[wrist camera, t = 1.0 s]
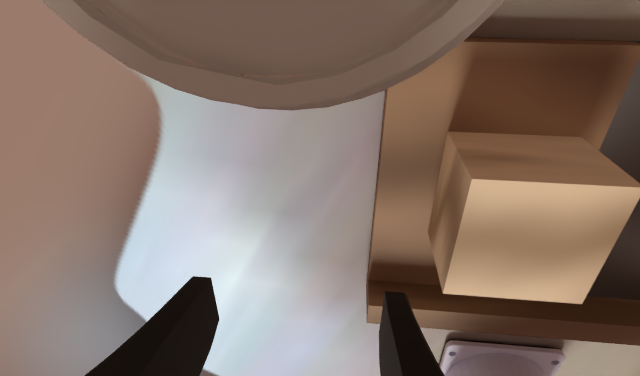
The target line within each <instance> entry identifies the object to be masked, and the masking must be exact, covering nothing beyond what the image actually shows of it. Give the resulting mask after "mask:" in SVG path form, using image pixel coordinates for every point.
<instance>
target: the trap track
mask: <svg viewBox="0 0 640 376" xmlns="http://www.w3.org/2000/svg"><path fill="white" fill-rule="evenodd" d="M448 131H449V132H472V133H496V134H520V135H544V136H568V137H582V138H583V139H584V140H586V141H587V142H588V143H590V144H591V145H592V146H593V147H595V148H596V149H597V150H598V151H600V152H601V153H602V154H603V155H605V156H606V157H607V158H608V159H610V160H611V161H612V162H613V163H615V164H616V165H617V166H618V167H620V168H621V169H622V170H623V171H625V172H626V173H627V174H628V175H630V176H631V177H632V178H634V179H635V180H636V181H637V182H639V183H640V41H596V40H551V39H506V38H466V39H465V40H464V41H463V42H462V43H461V44H459V45H458V46H456V47H455V48H454V49H452V50H451V51H449V52H448V53H447V54H445V55H444V56H443V57H441V58H440V59H438V60H437V61H436V62H434V63H433V64H431V65H430V66H429V67H427V68H426V69H424V70H423V71H422V72H420V73H418V74H416V75H414V76H412V77H410V78H408V79H406V80H404V81H402V82H400V83H398V84H396V85H394V86H392V87H390V88H388V89H386V92H385V102H384V112H383V123H382V133H381V143H380V153H379V163H378V173H377V183H376V193H375V203H374V213H373V223H372V233H371V243H370V253H369V264H368V274H367V284H366V298H367V323H374V324H380V322H381V315H382V308H383V300H384V293H385V291H391V292H404V293H405V294H406V295H407V297H408V300H409V303H410V306H411V308H412V311H413V313H414V316H415V318H416V320H417V323H418V325H419V327H423V328H435V329H447V330H459V331H471V332H483V333H495V334H507V335H519V336H531V337H543V338H555V339H567V340H579V341H591V342H603V343H615V344H627V345H639V346H640V199H639V200H638V202H637V204H636V206H635V208H634V210H633V211H632V213H631V215H630V217H629V219H628V221H627V222H626V224H625V226H624V228H623V230H622V232H621V233H620V235H619V237H618V239H617V241H616V243H615V244H614V246H613V248H612V250H611V252H610V254H609V255H608V257H607V259H606V261H605V263H604V265H603V266H602V268H601V270H600V272H599V274H598V276H597V278H596V279H595V281H594V283H593V285H592V287H591V289H590V290H589V292H588V294H587V296H586V298H585V300H584V301H583V303H582V304H573V303H560V302H547V301H534V300H520V299H507V298H494V297H481V296H468V295H454V294H443V292H442V288H441V284H440V280H439V276H438V272H437V268H436V264H435V260H434V256H433V252H432V247H431V243H430V239H429V235H428V228H429V223H430V218H431V213H432V208H433V203H434V198H435V193H436V188H437V183H438V178H439V173H440V168H441V163H442V158H443V153H444V148H445V143H446V138H447V133H448Z"/></svg>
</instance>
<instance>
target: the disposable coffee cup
mask: <svg viewBox="0 0 640 376" xmlns="http://www.w3.org/2000/svg"><path fill="white" fill-rule="evenodd" d="M42 1H43V2H44V3H45V4H46V5H47V6H48V7H49V8H50V9H52V10H53V11H54V12H55V13H56V14H57V15H58V16H59V17H61V18H62V19H63V20H64V21H65V22H66V23H67V24H69V25H70V26H71V27H72V28H73V29H74V30H75V31H77V32H78V33H79V34H80V35H82V36H84V37H85V38H86V39H88V40H89V41H91V42H92V43H94V44H95V45H97V46H98V47H100V48H101V49H103V50H104V51H105V52H107V53H108V54H110V55H111V56H113V57H114V58H116V59H117V60H119V61H120V62H122V63H123V64H125V65H126V66H128V67H129V68H131V69H134V70H136V71H138V72H140V73H142V74H144V75H146V76H149V77H151V78H153V79H155V80H157V81H159V82H161V83H164V84H166V85H168V86H170V87H172V88H174V89H177V90H180V91H183V92H187V93H190V94H193V95H196V96H200V97H203V98H206V99H209V100H214V101H220V102H227V103H233V104H239V105H243V106H248V107H253V108H258V109H277V110H300V109H312V108H323V107H330V106H334V105H338V104H342V103H346V102H350V101H354V100H358V99H362V98H364V97H367V96H370V95H373V94H375V93H378V92H381V91H384V90H386V89H388V88H390V87H392V86H394V85H396V84H398V83H400V82H402V81H404V80H406V79H408V78H410V77H412V76H414V75H416V74H418V73H420V72H422V71H423V70H424V69H426V68H427V67H429V66H430V65H431V64H433V63H434V62H436V61H437V60H438V59H440V58H441V57H443V56H444V55H445V54H447V53H448V52H449V51H451V50H452V49H454V48H455V47H456V46H458V45H459V44H461V43H462V42H463V41H464V40H465V39H466V38H467V37H469V36H470V35H471V34H472V33H473V32H474V31H475V30H476V29H477V28H478V27H479V26H480V25H481V24H482V23H483V22H484V21H485V20H486V19H487V18H488V17H489V16H491V15H492V14H493V13H494V12H495V11H496V10H497V9H498V8H499V7H500V6H501V5H502V4H503V3H504V2H505V0H42Z"/></svg>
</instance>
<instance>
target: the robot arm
mask: <svg viewBox="0 0 640 376" xmlns="http://www.w3.org/2000/svg"><path fill="white" fill-rule="evenodd" d="M218 321H219V315H218V310H217V306H216V301H215V296H214V291H213V286H212V281H211V278H207V277H194V276H193V277H192V278H191V279H190V280H189V281H188V282H187V283H186V284H185V285H184V286H183V287H182V288H181V289H180V290H179V291H178V292H177V293H176V294H175V295H174V296H173V297H172V298H171V299H170V300H169V301H168V302H167V303H166V304H165V305H164V306H163V307H162V308H161V309H160V310H159V311H158V312H157V313H156V314H155V315H154V316H153V317H152V318H151V319H150V320H149V321H148V322H147V323H145V325H144V326H142V327H141V328H140V329H139V330H138V331H137V332H136V333H135V334H134V335H133V336H131V337H130V338H129V339H128V340H127V341H126V342H125V343H123V344H122V345H121V346H120V347H119V348H118V349H117V350H116V351H115V352H113V353H112V354H111V355H110V356H108V357H107V358H106V359H105V360H104V361H103V362H101V363H100V364H99V365H97V366H96V367H95V368H94V369H92V370H91V371H90V372H89V373H87V374H86V375H85V376H199V375H200V373H201V371H202V368H203V366H204V363H205V361H206V359H207V356H208V354H209V351H210V349H211V346H212V342H213V339H214V336H215V332H216V329H217V325H218ZM564 359H565V355H564V353H563V351H561V350H559V349H549V348H537V347H526V346H514V345H502V344H491V343H479V342H467V341H455V340H451V341H449V342H447V343H446V345H445V349H444V352H443V355H442V359H441V362H440V366H439V365H438V363H437V361H436V359H435V357H434V355H433V353H432V351H431V349H430V348H429V346H428V344H427V342H426V340H425V338H424V336H423V334H422V331H421V329H420V327H419V325H418V323H417V320H416V318H415V316H414V313H413V311H412V308H411V306H410V303H409V300H408V297H407V295H406V294H405V293H404V292H391V291H385V293H384V300H383V308H382V315H381V322H380V330H379V360H380V373H381V376H555V375H556V373H557V371H558V369H559V368H560V366H561V364H562V362H563V361H564Z"/></svg>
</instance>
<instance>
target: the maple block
mask: <svg viewBox="0 0 640 376" xmlns="http://www.w3.org/2000/svg"><path fill="white" fill-rule="evenodd" d="M639 199H640V183H639V182H637V181H636V180H635V179H634V178H632V177H631V176H630V175H628V174H627V173H626V172H625V171H623V170H622V169H621V168H620V167H618V166H617V165H616V164H615V163H613V162H612V161H611V160H610V159H608V158H607V157H606V156H605V155H603V154H602V153H601V152H600V151H598V150H597V149H596V148H595V147H593V146H592V145H591V144H590V143H588V142H587V141H586V140H584V139H583V138H582V137H568V136H544V135H520V134H496V133H472V132H449V131H448V133H447V138H446V143H445V148H444V153H443V158H442V163H441V168H440V173H439V178H438V183H437V188H436V193H435V198H434V203H433V208H432V213H431V218H430V223H429V228H428V235H429V239H430V243H431V247H432V252H433V256H434V260H435V264H436V268H437V272H438V276H439V280H440V284H441V288H442V292H443V294H454V295H468V296H481V297H494V298H507V299H520V300H534V301H547V302H560V303H573V304H582V303H583V301H584V300H585V298H586V296H587V294H588V292H589V290H590V289H591V287H592V285H593V283H594V281H595V279H596V278H597V276H598V274H599V272H600V270H601V268H602V266H603V265H604V263H605V261H606V259H607V257H608V255H609V254H610V252H611V250H612V248H613V246H614V244H615V243H616V241H617V239H618V237H619V235H620V233H621V232H622V230H623V228H624V226H625V224H626V222H627V221H628V219H629V217H630V215H631V213H632V211H633V210H634V208H635V206H636V204H637V202H638V200H639Z"/></svg>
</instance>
